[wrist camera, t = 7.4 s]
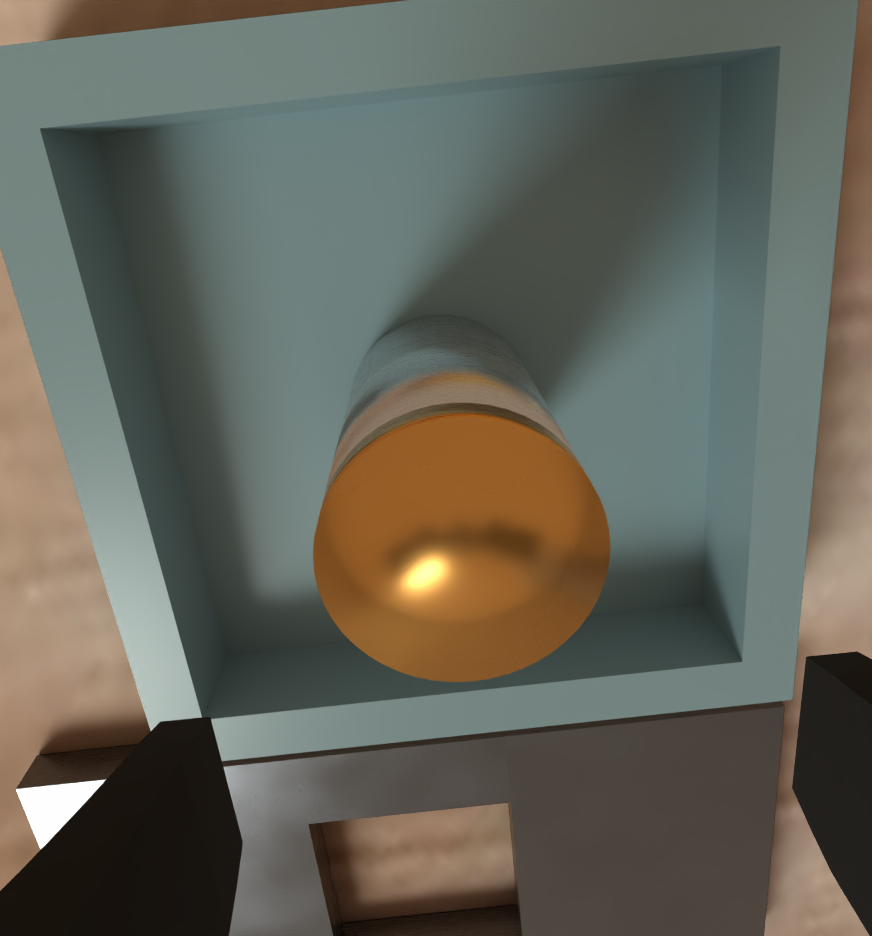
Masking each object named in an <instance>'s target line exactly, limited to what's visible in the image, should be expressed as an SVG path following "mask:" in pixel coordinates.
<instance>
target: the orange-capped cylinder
mask: <svg viewBox="0 0 872 936" xmlns="http://www.w3.org/2000/svg"><path fill="white" fill-rule="evenodd" d="M609 558H610V533H609V527H608V522H607V517H606V513H605V511H604V508H603V505H602V503H601V500H600V497H599V496H598V494H597V492H596V490H595V488H594V487H593V485H592V483H591V481H590V479H589V478H588V476H587V474H586V472H585V471H584V469H583V467H582V466H581V464H580V462H579V460H578V459H577V457H576V455H575V453H574V452H573V450H572V448H571V446H570V445H569V443H568V441H567V439H566V438H565V436H564V434H563V433H562V431H561V429H560V427H559V426H558V424H557V422H556V420H555V419H554V417H553V415H552V413H551V412H550V410H549V408H548V407H547V405H546V403H545V401H544V400H543V398H542V396H541V394H540V393H539V391H538V389H537V387H536V386H535V384H534V382H533V381H532V379H531V377H530V375H529V374H528V372H527V370H526V368H525V367H524V365H523V363H522V361H521V360H520V358H519V356H518V355H517V353H516V352H515V351H514V349H513V348H512V347H511V345H510V344H509V343H508V342H507V341H506V340H505V339H504V338H503V337H502V336H500V335H499V334H498V333H496V332H495V331H494V330H492V329H491V328H489V327H487V326H485V325H484V324H482V323H479V322H477V321H474V320H472V319H468V318H464V317H460V316H453V315H430V316H424V317H419V318H416V319H412V320H409V321H407V322H405V323H402V324H400V325H398V326H396V327H395V328H393V329H391V330H390V331H388V332H387V333H386V334H384V335H383V336H382V337H381V338H379V339H378V340H377V341H376V342H375V344H374V345H373V346H372V347H371V348H370V349H369V350H368V352H367V353H366V355H365V356H364V357H363V359H362V361H361V363H360V365H359V367H358V369H357V372H356V374H355V377H354V380H353V384H352V388H351V392H350V396H349V400H348V404H347V408H346V412H345V416H344V420H343V423H342V427H341V431H340V435H339V439H338V443H337V447H336V451H335V455H334V459H333V463H332V467H331V471H330V475H329V479H328V483H327V486H326V490H325V494H324V498H323V502H322V506H321V510H320V514H319V518H318V522H317V527H316V531H315V535H314V545H313V565H314V574H315V579H316V583H317V587H318V591H319V593H320V596H321V598H322V601H323V603H324V606H325V607H326V609H327V611H328V613H329V614H330V616H331V618H332V620H333V621H334V622H335V624H336V625H337V626H338V628H339V629H340V630H341V632H342V633H343V634H344V635H345V636H346V637H347V638H348V639H349V640H350V641H351V642H352V643H353V644H354V645H355V646H356V647H358V648H359V649H360V650H362V651H363V652H364V653H365V654H367V655H368V656H370V657H371V658H373V659H375V660H376V661H378V662H380V663H381V664H383V665H385V666H387V667H390V668H392V669H394V670H396V671H399V672H401V673H405V674H408V675H411V676H414V677H418V678H423V679H428V680H433V681H445V682H471V681H479V680H486V679H491V678H495V677H499V676H503V675H507V674H510V673H512V672H515V671H518V670H521V669H523V668H525V667H527V666H529V665H531V664H533V663H535V662H537V661H539V660H541V659H542V658H544V657H546V656H547V655H549V654H550V653H552V652H553V651H555V650H556V649H557V648H558V647H560V646H561V645H562V644H563V643H564V642H566V641H567V640H568V639H569V638H570V637H571V636H572V635H573V634H574V633H575V632H576V631H577V630H578V629H579V627H580V626H581V625H582V623H583V622H584V621H585V619H586V618H587V617H588V615H589V614H590V613H591V611H592V609H593V607H594V605H595V604H596V602H597V600H598V598H599V596H600V593H601V591H602V588H603V586H604V583H605V579H606V575H607V571H608V567H609Z"/></svg>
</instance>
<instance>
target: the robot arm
mask: <svg viewBox="0 0 872 936" xmlns="http://www.w3.org/2000/svg"><path fill="white" fill-rule="evenodd" d="M792 788H793V791H794V793H795V795H796V797H797V799H798V802H799V804H800V806H801V808H802V811H803V813H804V815H805V817H806V819H807V822H808V824H809V826H810V828H811V831H812V833H813V835H814V837H815V839H816V841H817V843H818V845H819V847H820V849H821V851H822V854H823V856H824V858H825V860H826V862H827V864H828V866H829V868H830V870H831V872H832V874H833V876H834V877H835V879H836V881H837V882H838V884H839V886H840V887H841V889H842V891H843V892H844V894H845V896H846V897H847V899H848V901H849V902H850V904H851V906H852V907H853V909H854V911H855V912H856V914H857V915H858V917H859V919H860V920H861V922H862V924H863V925H864V927H865V929H866V930H867V932H868V934H869V935H870V936H872V659H870V658H868V657H866V656H864V655H863V654H861V653H859V652H849V653H839V654H829V655H819V656H809V657H806V664H805V673H804V682H803V692H802V701H801V710H800V720H799V729H798V739H797V748H796V757H795V767H794V776H793V785H792ZM242 846H243V840H242V837H241V833H240V829H239V825H238V821H237V817H236V814H235V810H234V806H233V802H232V798H231V794H230V791H229V787H228V783H227V779H226V775H225V771H224V768H223V764H222V760H221V756H220V752H219V748H218V745H217V741H216V737H215V733H214V729H213V725H212V721H211V718H210V717H201V718H191V719H181V720H171V721H161V722H159V723H158V724H157V726H156V727H155V728H154V729H153V730H152V731H151V732H150V733H149V734H148V735H147V736H146V737H145V738H144V739H143V740H142V741H141V742H140V743H139V744H138V745H137V747H136V748H135V749H134V750H133V751H132V752H131V753H130V754H129V755H128V756H127V757H126V759H125V760H124V761H123V762H122V763H121V764H120V765H119V766H118V767H117V768H116V769H115V771H114V772H113V773H112V774H111V775H110V776H109V777H108V778H107V779H106V780H105V782H104V783H103V784H102V785H101V786H100V787H99V788H98V789H97V790H96V791H95V792H94V793H93V795H92V796H91V797H90V798H89V799H88V800H87V801H86V802H85V803H84V804H83V805H82V807H81V808H80V809H79V810H78V811H77V812H76V813H75V814H74V815H73V816H72V817H71V818H70V819H69V820H68V821H67V822H66V823H65V825H64V826H63V827H62V828H61V829H60V830H59V831H58V832H57V833H56V834H55V835H54V836H53V837H52V838H51V839H50V840H49V842H48V843H47V844H46V845H45V846H44V847H43V848H42V849H41V850H40V851H39V852H38V853H37V854H36V855H35V856H34V857H33V859H32V860H31V861H30V862H29V863H28V864H27V865H26V866H25V867H24V868H23V869H22V870H21V871H20V872H19V873H18V874H17V875H16V876H15V877H14V878H13V879H12V880H11V881H10V882H9V883H8V884H7V885H6V886H5V887H4V888H3V889H2V890H1V891H0V936H229V932H230V927H231V920H232V914H233V908H234V902H235V896H236V889H237V882H238V875H239V868H240V860H241V853H242Z"/></svg>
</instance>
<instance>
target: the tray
mask: <svg viewBox="0 0 872 936" xmlns="http://www.w3.org/2000/svg"><path fill="white" fill-rule="evenodd" d="M858 1H859V0H405V1H397V2H388V3H379V4H370V5H361V6H352V7H343V8H334V9H325V10H316V11H307V12H298V13H289V14H280V15H272V16H263V17H254V18H245V19H236V20H227V21H218V22H209V23H200V24H191V25H182V26H173V27H164V28H156V29H147V30H138V31H129V32H120V33H111V34H102V35H93V36H84V37H75V38H66V39H57V40H48V41H40V42H31V43H22V44H13V45H4V46H0V248H1V251H2V254H3V258H4V261H5V264H6V267H7V270H8V274H9V277H10V280H11V283H12V287H13V290H14V293H15V296H16V299H17V303H18V306H19V309H20V312H21V316H22V319H23V322H24V325H25V328H26V332H27V335H28V338H29V341H30V344H31V348H32V351H33V354H34V357H35V361H36V364H37V367H38V370H39V373H40V377H41V380H42V383H43V386H44V390H45V393H46V396H47V399H48V402H49V406H50V409H51V412H52V415H53V419H54V422H55V425H56V428H57V431H58V435H59V438H60V441H61V444H62V448H63V451H64V454H65V457H66V460H67V464H68V467H69V470H70V473H71V476H72V480H73V483H74V486H75V489H76V493H77V496H78V499H79V502H80V505H81V509H82V512H83V515H84V518H85V522H86V525H87V528H88V531H89V534H90V538H91V541H92V544H93V547H94V551H95V554H96V557H97V560H98V563H99V567H100V570H101V573H102V576H103V580H104V583H105V586H106V589H107V592H108V596H109V599H110V602H111V605H112V609H113V612H114V615H115V618H116V621H117V625H118V628H119V631H120V634H121V637H122V641H123V644H124V647H125V650H126V654H127V657H128V660H129V663H130V666H131V670H132V673H133V676H134V679H135V683H136V686H137V689H138V692H139V695H140V699H141V702H142V705H143V708H144V712H145V715H146V718H147V721H148V724H149V728H150V731H152V730H153V729H154V728H155V727H156V726H157V724H158V723H159V722H161V721H171V720H181V719H191V718H201V717H210V718H211V721H212V725H213V729H214V733H215V737H216V741H217V745H218V748H219V752H220V756H221V760H222V761H228V760H238V759H247V758H256V757H266V756H275V755H284V754H293V753H303V752H312V751H321V750H331V749H340V748H349V747H359V746H368V745H377V744H386V743H396V742H405V741H414V740H424V739H433V738H442V737H452V736H461V735H470V734H479V733H489V732H498V731H507V730H517V729H526V728H535V727H545V726H554V725H563V724H572V723H582V722H591V721H600V720H610V719H619V718H628V717H638V716H647V715H656V714H665V713H675V712H684V711H693V710H703V709H712V708H721V707H731V706H740V705H749V704H758V703H768V702H777V701H786V700H792V699H793V688H794V678H795V667H796V657H797V646H798V636H799V625H800V614H801V604H802V593H803V583H804V572H805V562H806V551H807V540H808V530H809V519H810V509H811V498H812V488H813V477H814V466H815V456H816V445H817V435H818V424H819V414H820V403H821V392H822V382H823V371H824V361H825V350H826V340H827V329H828V318H829V308H830V297H831V287H832V276H833V266H834V255H835V244H836V234H837V223H838V213H839V202H840V192H841V181H842V170H843V160H844V149H845V139H846V128H847V118H848V107H849V96H850V86H851V75H852V65H853V54H854V44H855V33H856V22H857V12H858ZM430 315H453V316H460V317H464V318H468V319H472V320H474V321H477V322H479V323H482V324H484V325H485V326H487V327H489V328H491V329H492V330H494V331H495V332H496V333H498V334H499V335H500V336H502V337H503V338H504V339H505V340H506V341H507V342H508V343H509V344H510V345H511V347H512V348H513V349H514V351H515V352H516V353H517V355H518V356H519V358H520V360H521V361H522V363H523V365H524V367H525V368H526V370H527V372H528V374H529V375H530V377H531V379H532V381H533V382H534V384H535V386H536V387H537V389H538V391H539V393H540V394H541V396H542V398H543V400H544V401H545V403H546V405H547V407H548V408H549V410H550V412H551V413H552V415H553V417H554V419H555V420H556V422H557V424H558V426H559V427H560V429H561V431H562V433H563V434H564V436H565V438H566V439H567V441H568V443H569V445H570V446H571V448H572V450H573V452H574V453H575V455H576V457H577V459H578V460H579V462H580V464H581V466H582V467H583V469H584V471H585V472H586V474H587V476H588V478H589V479H590V481H591V483H592V485H593V487H594V488H595V490H596V492H597V494H598V496H599V497H600V500H601V503H602V505H603V508H604V511H605V513H606V517H607V522H608V527H609V533H610V558H609V567H608V571H607V575H606V579H605V583H604V586H603V588H602V591H601V593H600V596H599V598H598V600H597V602H596V604H595V605H594V607H593V609H592V611H591V613H590V614H589V615H588V617H587V618H586V619H585V621H584V622H583V623H582V625H581V626H580V627H579V629H578V630H577V631H576V632H575V633H574V634H573V635H572V636H571V637H570V638H569V639H568V640H567V641H566V642H564V643H563V644H562V645H561V646H560V647H558V648H557V649H556V650H555V651H553V652H552V653H550V654H549V655H547V656H546V657H544V658H542V659H541V660H539V661H537V662H535V663H533V664H531V665H529V666H527V667H525V668H523V669H521V670H518V671H515V672H512V673H510V674H507V675H503V676H499V677H495V678H491V679H486V680H479V681H471V682H445V681H433V680H428V679H423V678H418V677H414V676H411V675H408V674H405V673H401V672H399V671H396V670H394V669H392V668H390V667H387V666H385V665H383V664H381V663H380V662H378V661H376V660H375V659H373V658H371V657H370V656H368V655H367V654H365V653H364V652H363V651H362V650H360V649H359V648H358V647H356V646H355V645H354V644H353V643H352V642H351V641H350V640H349V639H348V638H347V637H346V636H345V635H344V634H343V633H342V632H341V630H340V629H339V628H338V626H337V625H336V624H335V622H334V621H333V620H332V618H331V616H330V614H329V613H328V611H327V609H326V607H325V606H324V603H323V601H322V598H321V596H320V593H319V591H318V587H317V583H316V579H315V574H314V565H313V545H314V535H315V531H316V527H317V522H318V518H319V514H320V510H321V506H322V502H323V498H324V494H325V490H326V486H327V483H328V479H329V475H330V471H331V467H332V463H333V459H334V455H335V451H336V447H337V443H338V439H339V435H340V431H341V427H342V423H343V420H344V416H345V412H346V408H347V404H348V400H349V396H350V392H351V388H352V384H353V380H354V377H355V374H356V372H357V369H358V367H359V365H360V363H361V361H362V359H363V357H364V356H365V355H366V353H367V352H368V350H369V349H370V348H371V347H372V346H373V345H374V344H375V342H376V341H377V340H378V339H379V338H381V337H382V336H383V335H384V334H386V333H387V332H388V331H390V330H391V329H393V328H395V327H396V326H398V325H400V324H402V323H405V322H407V321H409V320H412V319H416V318H419V317H424V316H430Z"/></svg>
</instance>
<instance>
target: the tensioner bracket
mask: <svg viewBox="0 0 872 936" xmlns="http://www.w3.org/2000/svg"><path fill="white" fill-rule="evenodd" d="M784 708H785V707H784V705H783V704H782V702H781V701H777V702H768V703H758V704H749V705H740V706H731V707H721V708H712V709H703V710H693V711H684V712H675V713H665V714H656V715H647V716H638V717H628V718H619V719H610V720H600V721H591V722H582V723H572V724H563V725H554V726H545V727H535V728H526V729H517V730H507V731H498V732H489V733H479V734H470V735H461V736H452V737H442V738H433V739H424V740H414V741H405V742H396V743H386V744H377V745H368V746H359V747H349V748H340V749H331V750H321V751H312V752H303V753H293V754H284V755H275V756H266V757H256V758H247V759H238V760H228V761H222V764H223V768H224V771H225V775H226V779H227V783H228V787H229V791H230V794H231V798H232V802H233V806H234V810H235V814H236V817H237V821H238V825H239V829H240V833H241V837H242V840H243V846H242V853H241V860H240V868H239V875H238V882H237V889H236V896H235V902H234V908H233V914H232V920H231V927H230V932H229V936H764V929H765V918H766V907H767V896H768V885H769V874H770V863H771V852H772V841H773V830H774V819H775V807H776V796H777V785H778V774H779V763H780V752H781V741H782V730H783V719H784ZM136 747H137V745H130V746H121V747H112V748H102V749H93V750H84V751H74V752H65V753H56V754H47V755H37V756H36V758H35V760H34V761H33V763H32V764H31V766H30V768H29V769H28V771H27V772H26V774H25V776H24V777H23V779H22V780H21V782H20V784H19V785H18V787H17V788H16V791H17V793H18V796H19V798H20V801H21V803H22V805H23V808H24V810H25V813H26V815H27V818H28V820H29V822H30V825H31V827H32V830H33V832H34V835H35V837H36V839H37V842H38V844H39V847H40V849H42V848H43V847H44V846H45V845H46V844H47V843H48V842H49V840H50V839H51V838H52V837H53V836H54V835H55V834H56V833H57V832H58V831H59V830H60V829H61V828H62V827H63V826H64V825H65V823H66V822H67V821H68V820H69V819H70V818H71V817H72V816H73V815H74V814H75V813H76V812H77V811H78V810H79V809H80V808H81V807H82V805H83V804H84V803H85V802H86V801H87V800H88V799H89V798H90V797H91V796H92V795H93V793H94V792H95V791H96V790H97V789H98V788H99V787H100V786H101V785H102V784H103V783H104V782H105V780H106V779H107V778H108V777H109V776H110V775H111V774H112V773H113V772H114V771H115V769H116V768H117V767H118V766H119V765H120V764H121V763H122V762H123V761H124V760H125V759H126V757H127V756H128V755H129V754H130V753H131V752H132V751H133V750H134V749H135V748H136ZM500 803H508V806H509V817H510V829H511V840H512V851H513V863H514V874H515V886H516V897H517V905H512V906H503V907H494V908H484V909H475V910H465V911H456V912H447V913H437V914H428V915H418V916H409V917H400V918H390V919H381V920H371V921H362V922H353V923H343V924H342V921H341V916H340V911H339V907H338V902H337V897H336V893H335V888H334V883H333V879H332V874H331V870H330V865H329V860H328V856H327V851H326V846H325V842H324V837H323V832H322V828H321V823H323V822H332V821H341V820H351V819H360V818H369V817H379V816H388V815H397V814H407V813H416V812H425V811H435V810H444V809H453V808H463V807H472V806H482V805H491V804H500Z"/></svg>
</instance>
